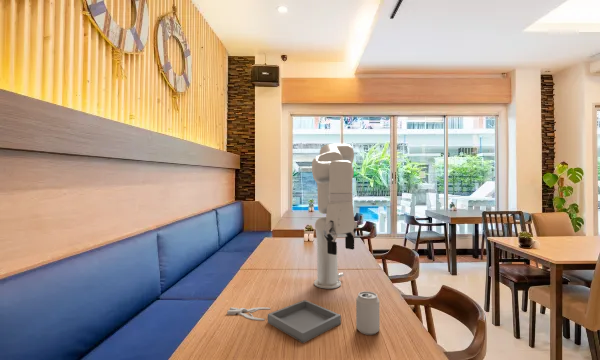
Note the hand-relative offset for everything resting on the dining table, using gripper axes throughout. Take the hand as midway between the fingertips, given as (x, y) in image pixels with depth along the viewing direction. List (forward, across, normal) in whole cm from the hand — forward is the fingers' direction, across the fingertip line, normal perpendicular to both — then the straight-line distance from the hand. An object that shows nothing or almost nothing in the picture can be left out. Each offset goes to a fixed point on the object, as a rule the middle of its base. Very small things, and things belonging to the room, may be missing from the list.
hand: (341, 251), depth 99 cm
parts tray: (+26, +3, -14) cm, 30 cm away
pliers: (+27, +12, -34) cm, 45 cm away
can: (+27, -8, +5) cm, 28 cm away
